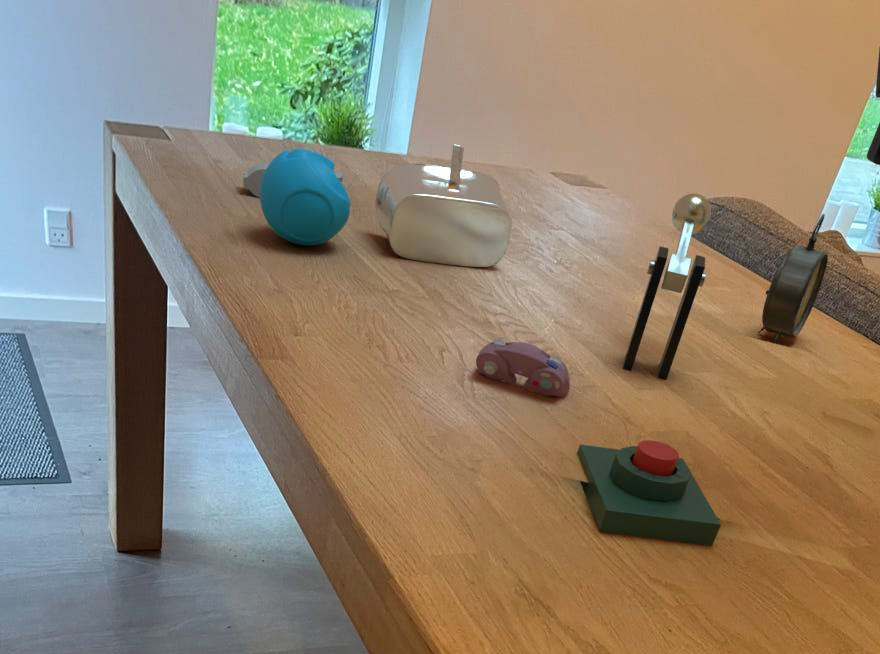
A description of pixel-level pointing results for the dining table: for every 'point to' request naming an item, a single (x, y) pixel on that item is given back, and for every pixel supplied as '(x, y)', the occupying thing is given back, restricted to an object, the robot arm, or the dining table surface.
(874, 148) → the robot arm
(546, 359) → the video game controller
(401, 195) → the vr headset
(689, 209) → the lever
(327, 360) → the dining table surface
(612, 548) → the dining table surface
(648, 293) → the bracket
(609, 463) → the box
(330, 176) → the teal rounded lump
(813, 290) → the alarm clock
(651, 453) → the button
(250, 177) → the bunny figurine
